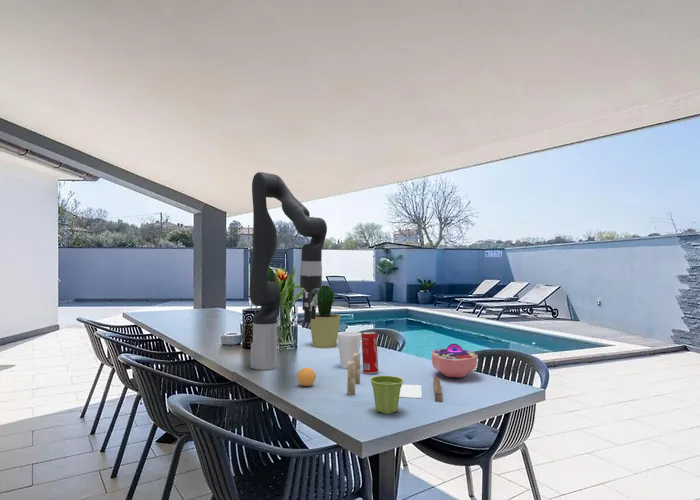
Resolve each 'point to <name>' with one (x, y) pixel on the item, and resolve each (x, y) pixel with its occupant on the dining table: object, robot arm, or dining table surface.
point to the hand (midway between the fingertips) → (310, 320)
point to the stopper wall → (437, 389)
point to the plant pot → (386, 393)
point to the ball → (306, 376)
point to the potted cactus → (325, 320)
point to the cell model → (454, 361)
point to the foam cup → (348, 346)
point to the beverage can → (369, 352)
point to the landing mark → (411, 391)
